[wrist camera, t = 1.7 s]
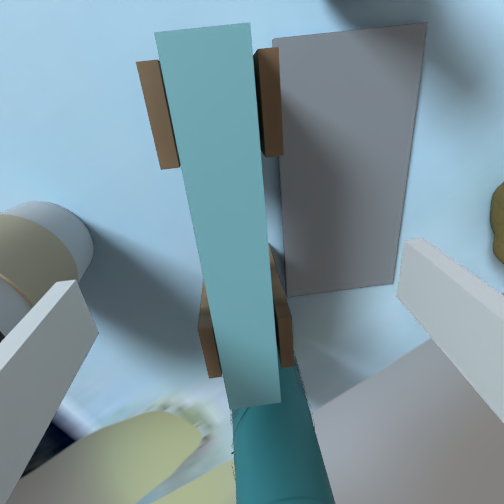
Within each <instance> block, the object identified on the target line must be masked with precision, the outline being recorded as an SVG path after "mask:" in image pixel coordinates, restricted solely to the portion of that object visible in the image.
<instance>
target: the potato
mask: <svg viewBox="0 0 504 504" xmlns="http://www.w3.org/2000/svg"><path fill="white" fill-rule="evenodd" d="M490 222H491V226H492V229H493V232H494V234H495V236H494V242H493V252H494V254H495V256H496V257H497V258H498V260H499V261H501V262H502V263H503V264H504V182H503V183H502V184H501V185H500V186H499V187H498V188H497V189H496V190H495V192H494V194H493V197H492V208H491V214H490Z"/></svg>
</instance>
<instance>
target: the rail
mask: <svg viewBox="0 0 504 504" xmlns="http://www.w3.org/2000/svg"><path fill="white" fill-rule="evenodd" d="M154 34H155V39H156V44H157V49H158V54H159V59H160V64H161V69H162V74H163V79H164V84H165V89H166V94H167V99H168V104H169V109H170V114H171V119H172V124H173V129H174V134H175V139H176V144H177V149H178V154H179V159H180V164H181V169H182V174H183V179H184V184H185V189H186V194H187V199H188V204H189V209H190V214H191V219H192V224H193V228H194V233H195V238H196V243H197V248H198V253H199V258H200V263H201V268H202V273H203V278H204V283H205V288H206V293H207V298H208V303H209V308H210V313H211V318H212V323H213V328H214V333H215V338H216V343H217V348H218V353H219V358H220V363H221V368H222V373H223V378H224V383H225V388H226V393H227V398H228V403H229V408H230V410H231V409H238V408H245V407H252V406H260V405H267V404H274V403H281V394H280V382H279V370H278V358H277V345H276V333H275V321H274V309H273V296H272V284H271V272H270V260H269V247H268V235H267V223H266V211H265V198H264V186H263V174H262V162H261V149H260V137H259V125H258V112H257V100H256V88H255V76H254V63H253V51H252V39H251V27H250V23H241V24H231V25H221V26H211V27H202V28H192V29H182V30H172V31H163V32H154Z"/></svg>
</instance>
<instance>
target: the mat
mask: <svg viewBox="0 0 504 504" xmlns="http://www.w3.org/2000/svg"><path fill="white" fill-rule="evenodd" d="M427 23H428V22H426V23H417V24H407V25H398V26H388V27H379V28H369V29H359V30H350V31H340V32H331V33H321V34H312V35H302V36H292V37H283V38H274V39H273V40H272V46H273V47H279V65H280V85H281V106H282V127H283V147H284V155H282V156H279V171H280V189H281V207H282V224H283V242H284V260H285V278H286V294H287V297H292V296H300V295H308V294H315V293H323V292H330V291H338V290H346V289H353V288H361V287H368V286H376V285H384V284H391V283H393V277H394V269H395V262H396V254H397V247H398V240H399V232H400V225H401V217H402V210H403V202H404V195H405V187H406V180H407V172H408V165H409V157H410V150H411V142H412V135H413V127H414V120H415V113H416V105H417V98H418V90H419V83H420V75H421V68H422V60H423V53H424V45H425V38H426V30H427Z"/></svg>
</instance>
